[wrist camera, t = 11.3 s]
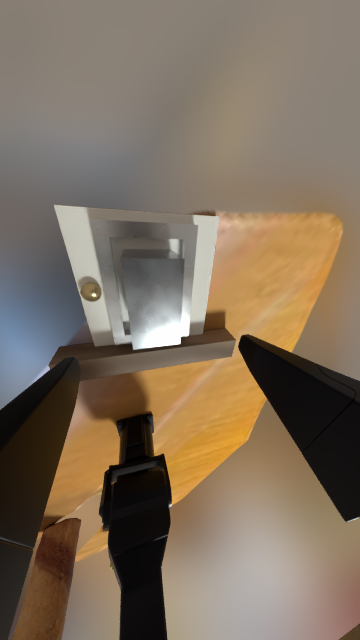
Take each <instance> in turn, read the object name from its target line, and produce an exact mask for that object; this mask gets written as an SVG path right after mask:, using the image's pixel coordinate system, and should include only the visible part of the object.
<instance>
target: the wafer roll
mask: <svg viewBox="0 0 360 640" xmlns="http://www.w3.org/2000/svg"><path fill="white" fill-rule="evenodd" d="M80 525H81V520H80V519H78V518H69V519H65V520H63V521H61V522H59V523H56V524H54V525H50V526H49V527H47V528H46V529H45V531H44V532H43V535H42V538H41V542H40V544H39V546H38V549H37V552H36V557H35V562H34V566H33V570H32V574H31V578H30V582H29V586H28V589H27V592H26V596H25V600H24V604H23V608H22V611H21V614H20V617H19V620H18V623H17V626H16V630H15V633H14V636H13V639H12V640H61V639H62V634H63V629H64V622H65V616H66V609H67V604H68V598H69V592H70V587H71V582H72V576H73V567H74V562H75V556H76V548H77V542H78V537H79V529H80Z"/></svg>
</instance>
